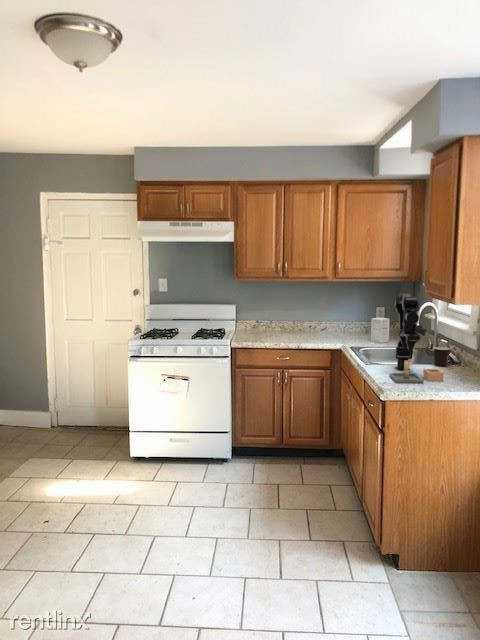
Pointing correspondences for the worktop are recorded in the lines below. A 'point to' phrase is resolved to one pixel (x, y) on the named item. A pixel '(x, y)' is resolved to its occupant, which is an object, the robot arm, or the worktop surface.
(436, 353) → the coffee mug
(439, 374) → the terracotta square hollow block
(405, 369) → the dowel pin
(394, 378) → the charcoal tray
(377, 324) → the supplement box
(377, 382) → the worktop surface
